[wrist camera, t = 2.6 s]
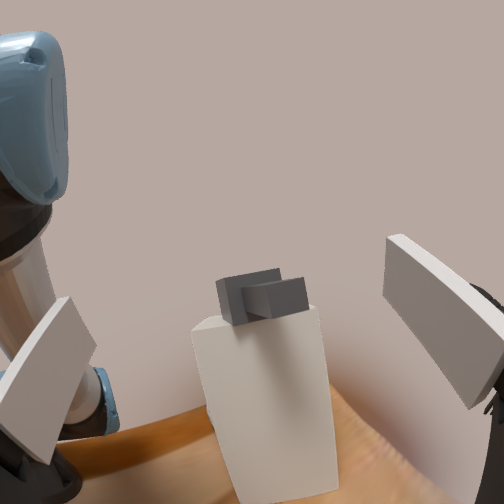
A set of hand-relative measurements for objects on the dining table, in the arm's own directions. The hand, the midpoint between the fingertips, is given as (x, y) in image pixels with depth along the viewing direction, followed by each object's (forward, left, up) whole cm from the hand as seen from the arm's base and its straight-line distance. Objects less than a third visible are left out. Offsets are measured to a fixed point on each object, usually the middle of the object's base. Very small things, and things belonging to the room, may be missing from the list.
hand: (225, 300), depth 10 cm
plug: (-11, +15, -4) cm, 19 cm away
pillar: (-16, +19, -32) cm, 40 cm away
